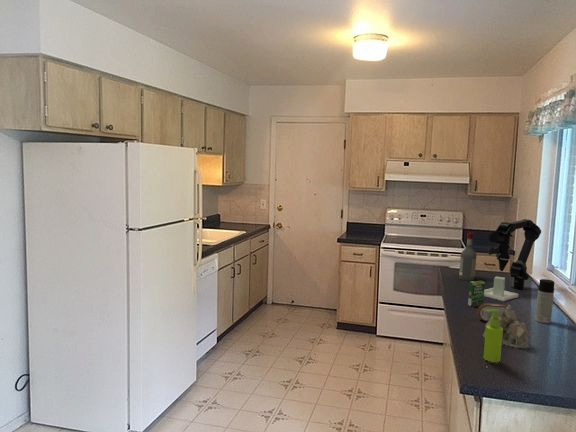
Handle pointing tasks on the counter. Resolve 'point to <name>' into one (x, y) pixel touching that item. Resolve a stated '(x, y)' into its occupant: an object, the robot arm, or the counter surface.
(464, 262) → the liquor
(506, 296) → the tray
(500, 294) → the block
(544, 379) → the counter surface
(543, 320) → the spray can
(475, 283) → the coffee box
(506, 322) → the grey brown jagged piece
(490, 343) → the soap dispenser
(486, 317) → the tin
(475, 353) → the counter surface
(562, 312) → the counter surface
